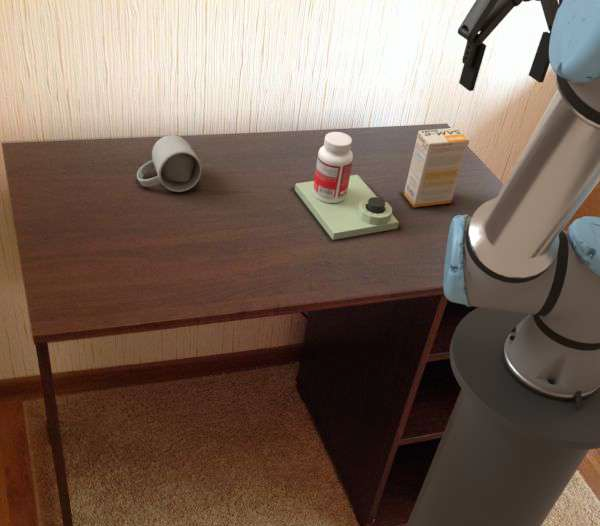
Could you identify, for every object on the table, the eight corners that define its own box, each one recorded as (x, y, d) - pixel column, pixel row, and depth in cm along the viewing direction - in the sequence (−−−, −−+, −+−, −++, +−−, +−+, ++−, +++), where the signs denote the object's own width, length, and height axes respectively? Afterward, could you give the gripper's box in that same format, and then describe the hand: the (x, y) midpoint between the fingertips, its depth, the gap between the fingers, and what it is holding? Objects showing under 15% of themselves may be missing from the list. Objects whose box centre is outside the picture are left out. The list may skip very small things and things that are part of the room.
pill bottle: (339, 184, 139) (349, 128, 131) (350, 203, 135) (361, 146, 127) (308, 186, 137) (316, 129, 129) (318, 205, 134) (327, 148, 125)
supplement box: (440, 190, 145) (458, 126, 135) (451, 204, 142) (471, 139, 132) (401, 194, 142) (417, 129, 133) (412, 208, 139) (430, 143, 130)
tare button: (386, 212, 132) (388, 205, 131) (371, 215, 131) (373, 207, 130) (378, 203, 134) (380, 196, 133) (363, 206, 133) (365, 198, 132)
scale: (397, 228, 134) (400, 214, 132) (332, 240, 129) (335, 225, 127) (356, 181, 143) (358, 166, 141) (294, 190, 139) (296, 175, 136)
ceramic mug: (189, 166, 140) (188, 127, 134) (202, 190, 135) (202, 150, 129) (132, 172, 136) (129, 133, 131) (143, 197, 132) (141, 157, 126)
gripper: (601, -86, 106) (547, 65, 121) (459, -86, 96) (421, 79, 112) (639, -69, 102) (578, 85, 117) (494, -67, 92) (449, 102, 107)
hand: (501, 82), depth 114 cm, fingers open, 13 cm apart
